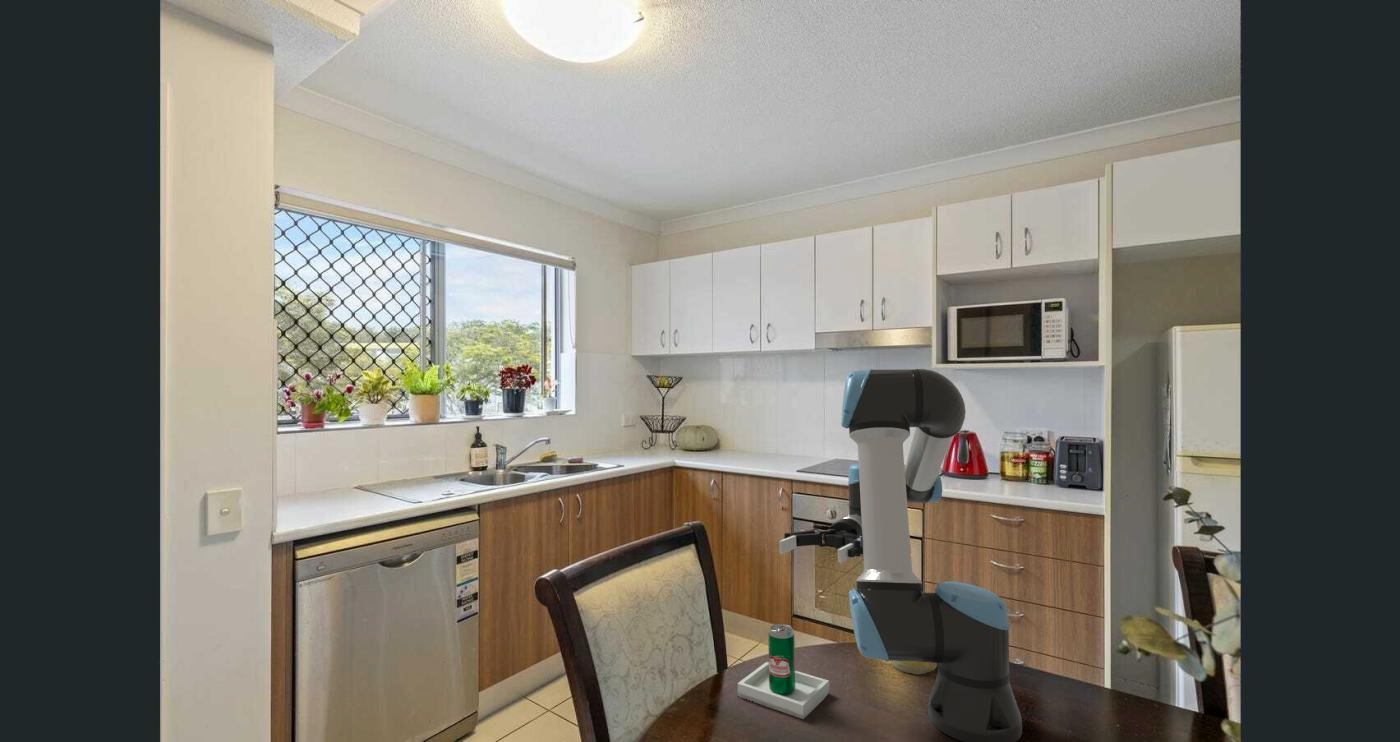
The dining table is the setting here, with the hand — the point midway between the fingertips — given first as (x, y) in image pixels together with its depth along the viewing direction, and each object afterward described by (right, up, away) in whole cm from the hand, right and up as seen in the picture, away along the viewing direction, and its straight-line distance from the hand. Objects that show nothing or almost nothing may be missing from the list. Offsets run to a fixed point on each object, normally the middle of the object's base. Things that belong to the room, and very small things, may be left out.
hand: (809, 551), depth 130 cm
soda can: (-7, -24, -11) cm, 27 cm away
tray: (-7, -25, -11) cm, 28 cm away
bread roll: (+22, -25, +1) cm, 33 cm away
